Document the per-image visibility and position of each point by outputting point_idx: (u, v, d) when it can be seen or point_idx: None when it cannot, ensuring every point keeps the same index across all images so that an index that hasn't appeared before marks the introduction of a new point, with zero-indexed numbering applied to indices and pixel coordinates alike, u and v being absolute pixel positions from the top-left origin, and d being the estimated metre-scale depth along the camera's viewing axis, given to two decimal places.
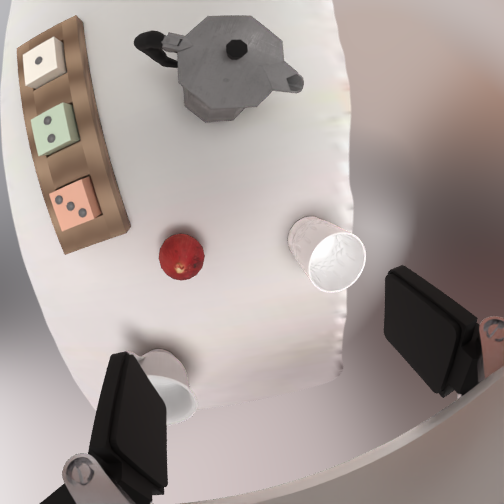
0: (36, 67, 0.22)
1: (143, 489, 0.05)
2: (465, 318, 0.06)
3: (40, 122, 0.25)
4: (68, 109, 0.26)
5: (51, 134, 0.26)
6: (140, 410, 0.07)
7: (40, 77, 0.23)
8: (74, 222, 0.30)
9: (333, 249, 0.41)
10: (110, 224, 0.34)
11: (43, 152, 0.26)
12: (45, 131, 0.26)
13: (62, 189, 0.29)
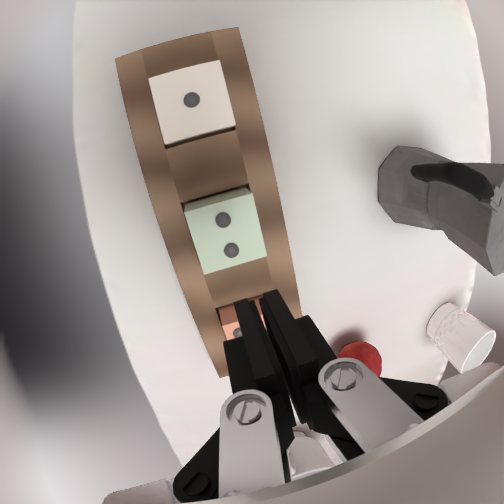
0: (188, 113, 0.18)
1: None
2: (302, 357, 0.07)
3: (207, 221, 0.21)
4: None
5: (231, 243, 0.22)
6: None
7: (199, 134, 0.18)
8: None
9: None
10: None
11: (214, 269, 0.22)
12: (219, 237, 0.21)
13: None
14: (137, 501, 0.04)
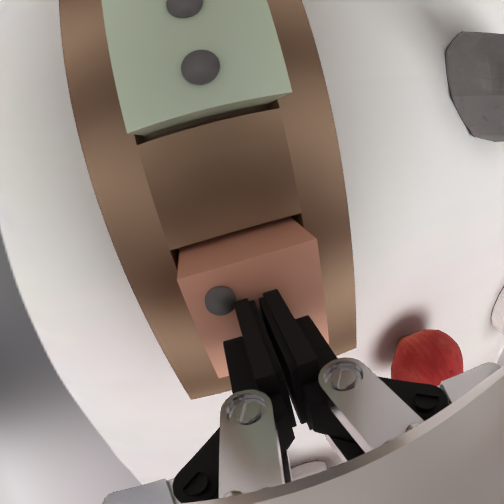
0: None
1: None
2: (302, 357, 0.07)
3: (147, 8, 0.06)
4: None
5: (202, 52, 0.07)
6: None
7: None
8: None
9: None
10: None
11: (153, 119, 0.07)
12: (171, 39, 0.06)
13: (237, 267, 0.10)
14: (138, 501, 0.04)
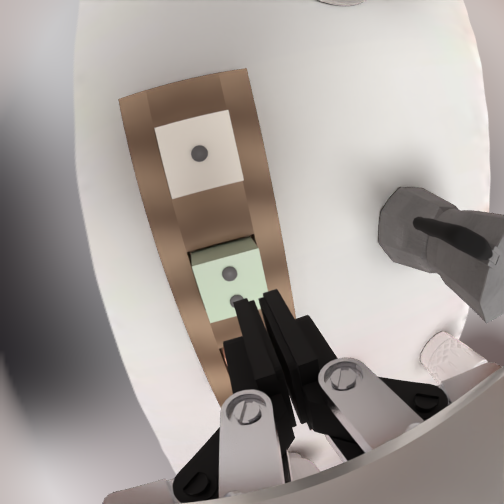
0: (196, 167, 0.19)
1: None
2: (303, 357, 0.07)
3: (213, 274, 0.21)
4: None
5: (237, 294, 0.22)
6: None
7: (207, 189, 0.19)
8: None
9: None
10: None
11: (220, 318, 0.23)
12: (225, 289, 0.22)
13: None
14: (138, 501, 0.04)
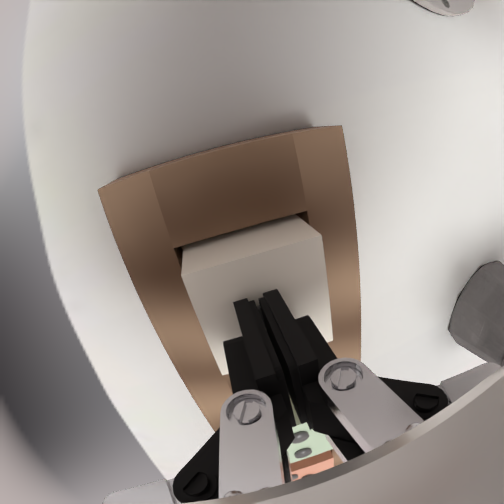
0: None
1: None
2: (302, 357, 0.07)
3: None
4: None
5: (304, 447, 0.15)
6: None
7: None
8: None
9: None
10: None
11: None
12: (291, 447, 0.14)
13: (300, 470, 0.19)
14: (138, 501, 0.04)
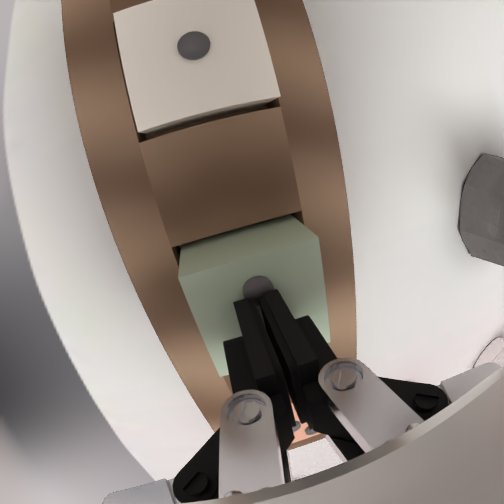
0: (186, 70, 0.08)
1: None
2: (302, 356, 0.07)
3: (225, 293, 0.10)
4: None
5: None
6: None
7: (208, 111, 0.09)
8: None
9: None
10: None
11: None
12: None
13: None
14: (138, 501, 0.04)
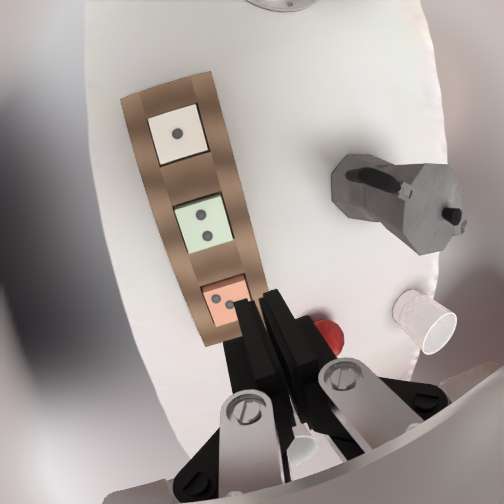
0: (175, 142, 0.27)
1: None
2: (302, 357, 0.07)
3: (190, 216, 0.30)
4: None
5: (207, 231, 0.31)
6: None
7: None
8: (232, 318, 0.35)
9: None
10: (262, 318, 0.37)
11: (196, 250, 0.31)
12: (198, 227, 0.30)
13: (220, 289, 0.33)
14: (137, 501, 0.04)
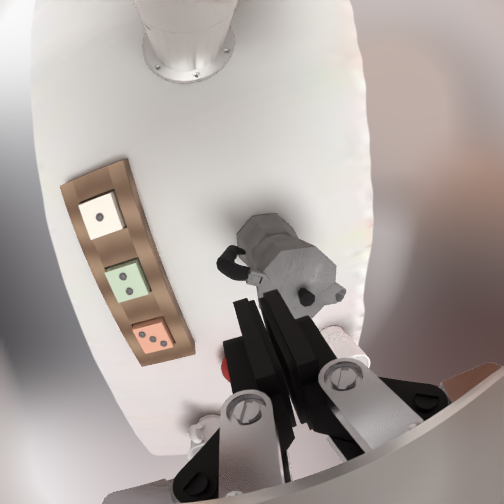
0: (99, 224, 0.34)
1: None
2: (302, 357, 0.07)
3: (115, 276, 0.37)
4: (139, 264, 0.39)
5: (129, 287, 0.38)
6: None
7: (106, 234, 0.35)
8: (156, 349, 0.43)
9: None
10: (182, 349, 0.45)
11: (122, 300, 0.39)
12: (122, 284, 0.38)
13: (144, 328, 0.41)
14: (137, 501, 0.04)
